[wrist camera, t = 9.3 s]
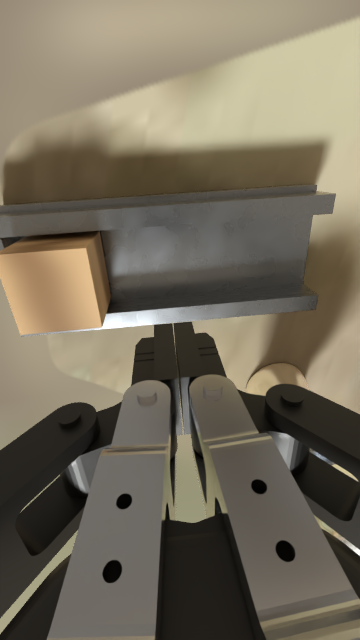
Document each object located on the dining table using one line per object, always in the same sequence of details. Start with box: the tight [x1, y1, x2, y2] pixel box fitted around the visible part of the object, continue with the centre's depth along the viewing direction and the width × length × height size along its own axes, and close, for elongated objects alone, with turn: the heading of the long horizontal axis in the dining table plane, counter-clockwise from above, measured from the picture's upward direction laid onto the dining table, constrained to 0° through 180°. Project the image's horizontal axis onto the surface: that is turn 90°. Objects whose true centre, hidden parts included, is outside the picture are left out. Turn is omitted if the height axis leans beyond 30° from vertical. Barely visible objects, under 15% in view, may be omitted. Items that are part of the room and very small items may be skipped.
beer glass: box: [246, 363, 360, 556], centre depth 24 cm, size 7×7×15 cm
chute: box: [0, 184, 336, 336], centre depth 22 cm, size 22×9×4 cm, turn 93°
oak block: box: [0, 231, 111, 335], centre depth 19 cm, size 5×5×5 cm
